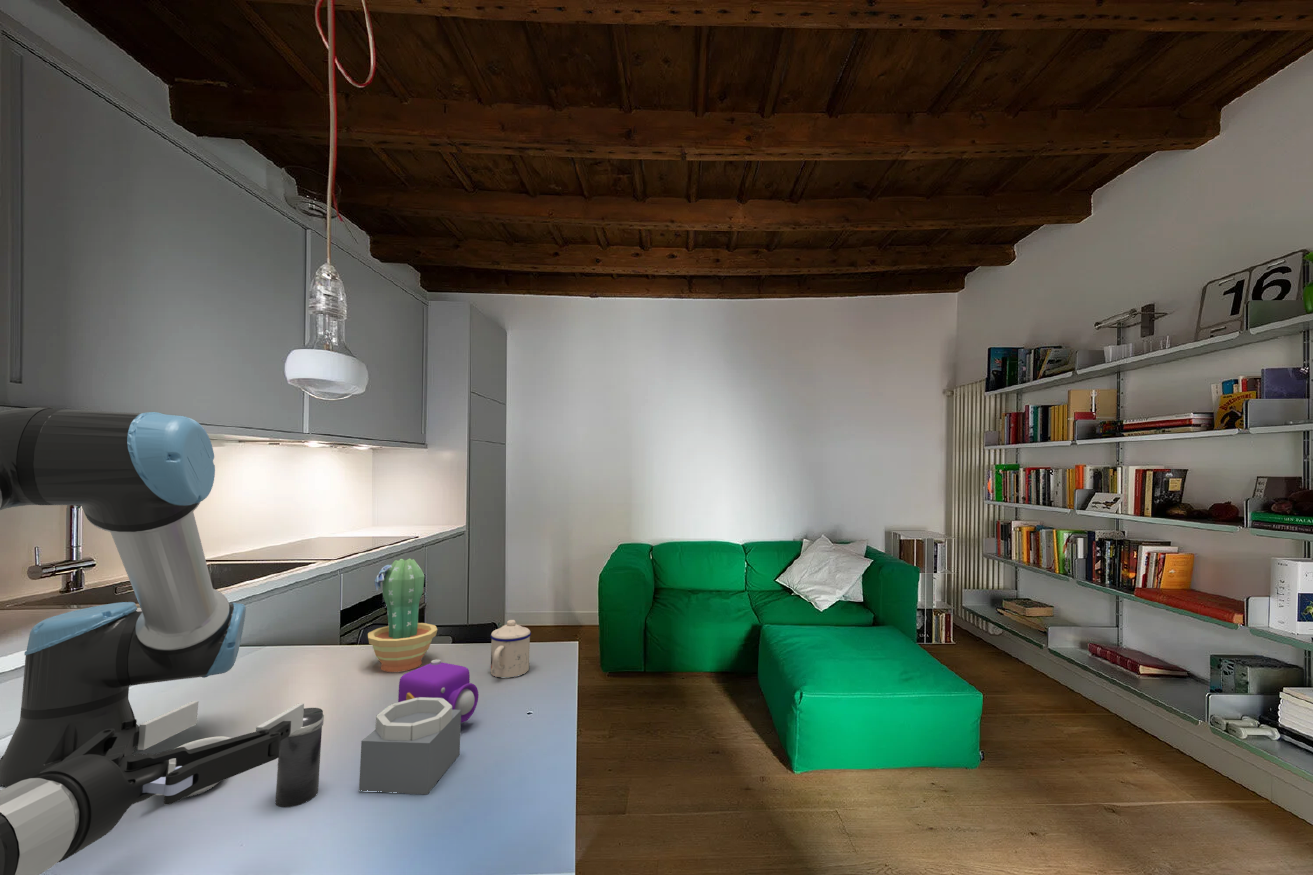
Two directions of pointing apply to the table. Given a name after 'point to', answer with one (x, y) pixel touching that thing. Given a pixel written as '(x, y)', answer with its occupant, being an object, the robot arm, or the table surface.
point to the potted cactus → (401, 618)
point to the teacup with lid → (510, 650)
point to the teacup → (191, 746)
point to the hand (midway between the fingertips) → (247, 713)
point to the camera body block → (410, 746)
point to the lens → (300, 761)
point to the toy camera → (441, 686)
